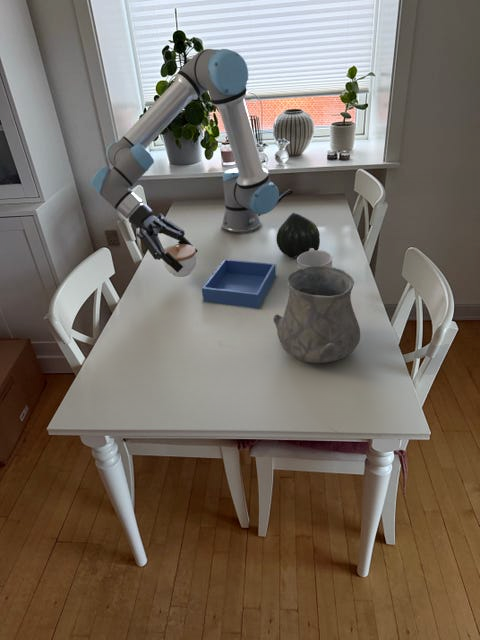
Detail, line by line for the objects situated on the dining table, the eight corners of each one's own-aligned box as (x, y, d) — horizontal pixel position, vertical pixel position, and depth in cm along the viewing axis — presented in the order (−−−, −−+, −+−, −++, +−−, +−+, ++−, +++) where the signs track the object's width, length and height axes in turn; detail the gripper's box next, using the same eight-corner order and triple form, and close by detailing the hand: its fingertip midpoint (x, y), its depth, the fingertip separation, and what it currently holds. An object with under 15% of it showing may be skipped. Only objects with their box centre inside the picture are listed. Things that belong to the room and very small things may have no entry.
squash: (320, 251, 148) (319, 207, 150) (275, 253, 151) (274, 210, 153) (319, 262, 162) (318, 222, 164) (278, 264, 165) (277, 224, 166)
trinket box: (183, 261, 153) (179, 236, 147) (205, 271, 146) (201, 244, 141) (158, 274, 147) (153, 247, 141) (179, 284, 140) (175, 256, 135)
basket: (225, 271, 153) (224, 259, 150) (275, 276, 147) (275, 263, 145) (203, 301, 138) (201, 288, 135) (258, 308, 132) (257, 294, 130)
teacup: (330, 289, 139) (331, 265, 134) (295, 287, 141) (295, 264, 136) (332, 267, 150) (333, 245, 145) (299, 266, 152) (299, 245, 148)
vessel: (292, 315, 128) (292, 251, 117) (369, 335, 118) (377, 267, 107) (256, 359, 113) (252, 291, 102) (341, 386, 103) (347, 313, 92)
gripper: (147, 206, 150) (195, 252, 154) (109, 233, 132) (165, 285, 136) (159, 191, 146) (208, 239, 150) (121, 217, 128) (178, 271, 132)
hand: (188, 261), depth 143 cm, fingers closed on trinket box, 11 cm apart
